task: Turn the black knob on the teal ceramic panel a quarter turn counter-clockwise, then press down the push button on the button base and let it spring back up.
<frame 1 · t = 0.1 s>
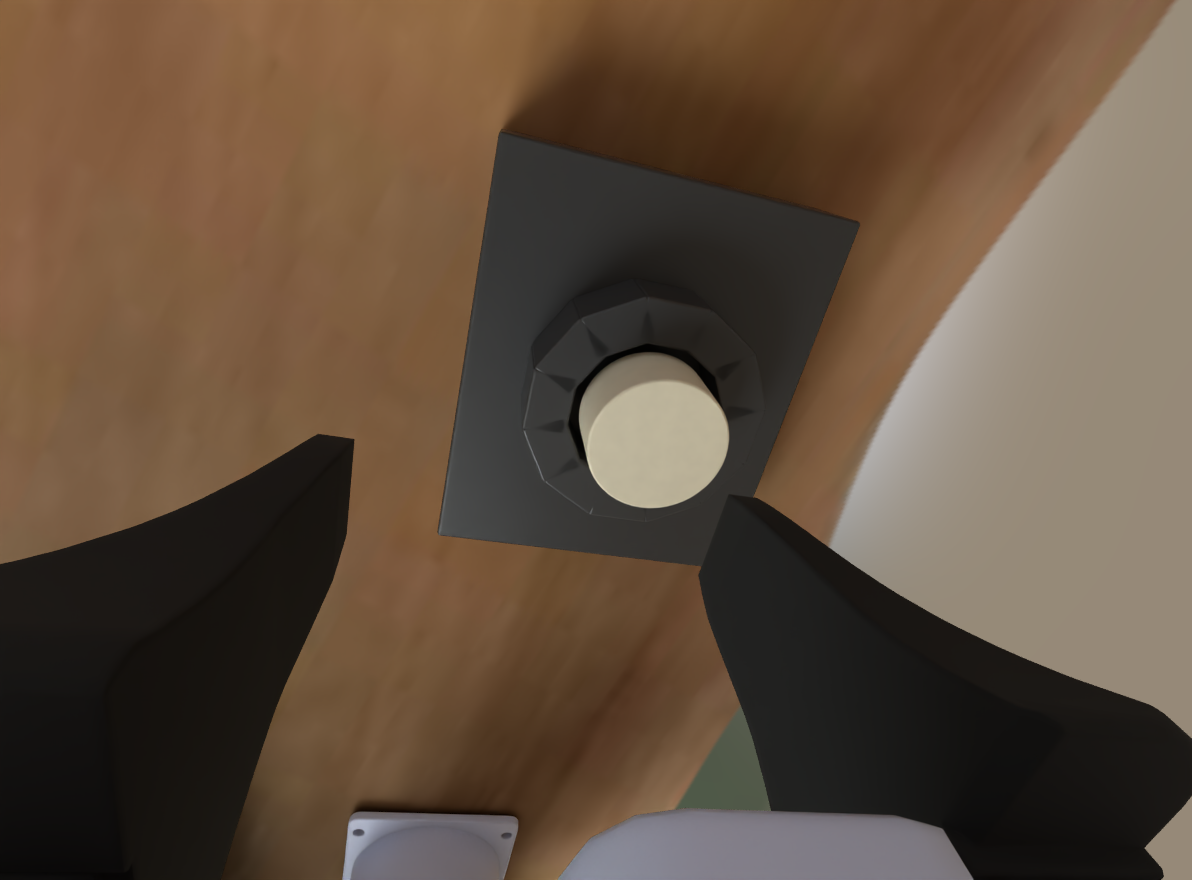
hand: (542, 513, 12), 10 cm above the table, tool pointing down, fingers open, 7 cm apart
button base: (618, 357, 22), on the table
push button: (651, 429, 17), point 6 cm above the table, slide at 0.1 cm
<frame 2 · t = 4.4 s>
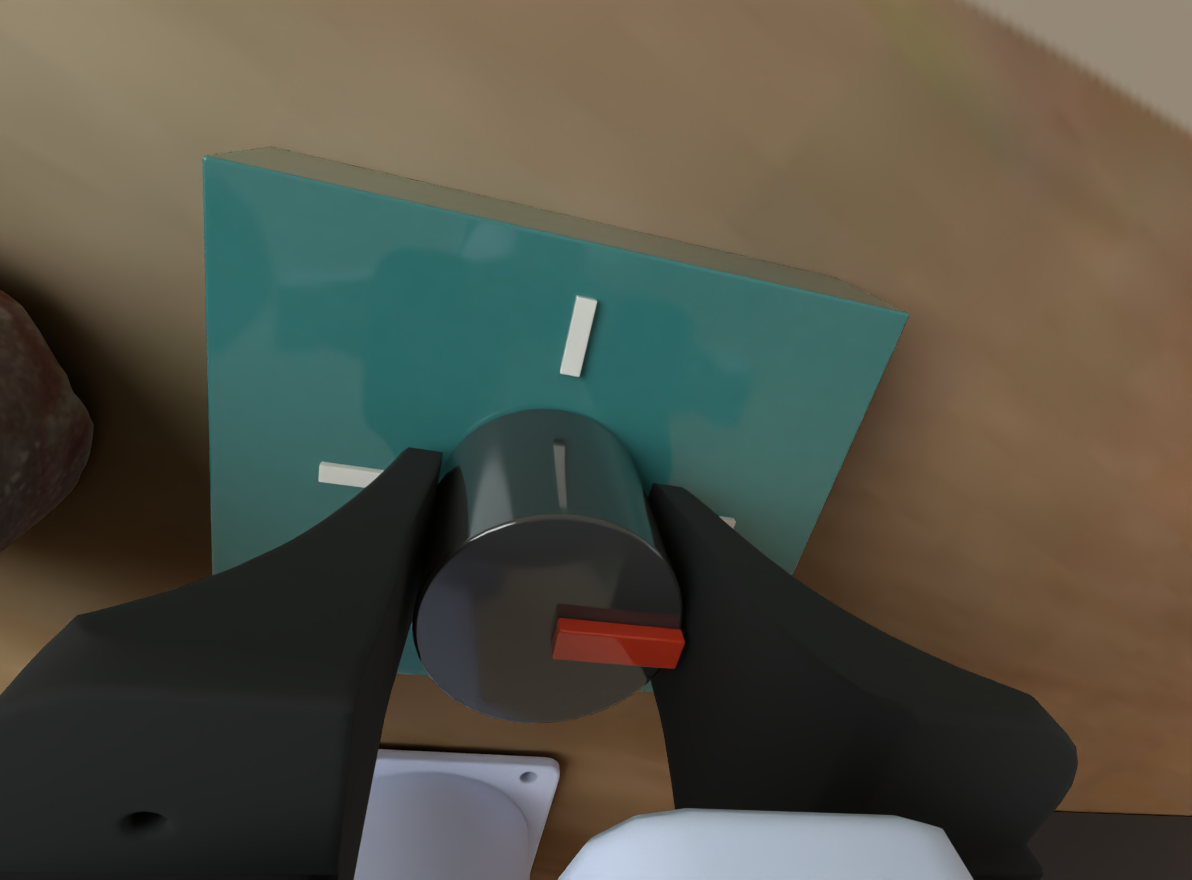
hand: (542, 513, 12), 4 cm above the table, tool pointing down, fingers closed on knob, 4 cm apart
dial panel: (534, 432, 15), on the table
knob: (545, 561, 11), point 5 cm above the table, hinge at 0.0°, touching gripper
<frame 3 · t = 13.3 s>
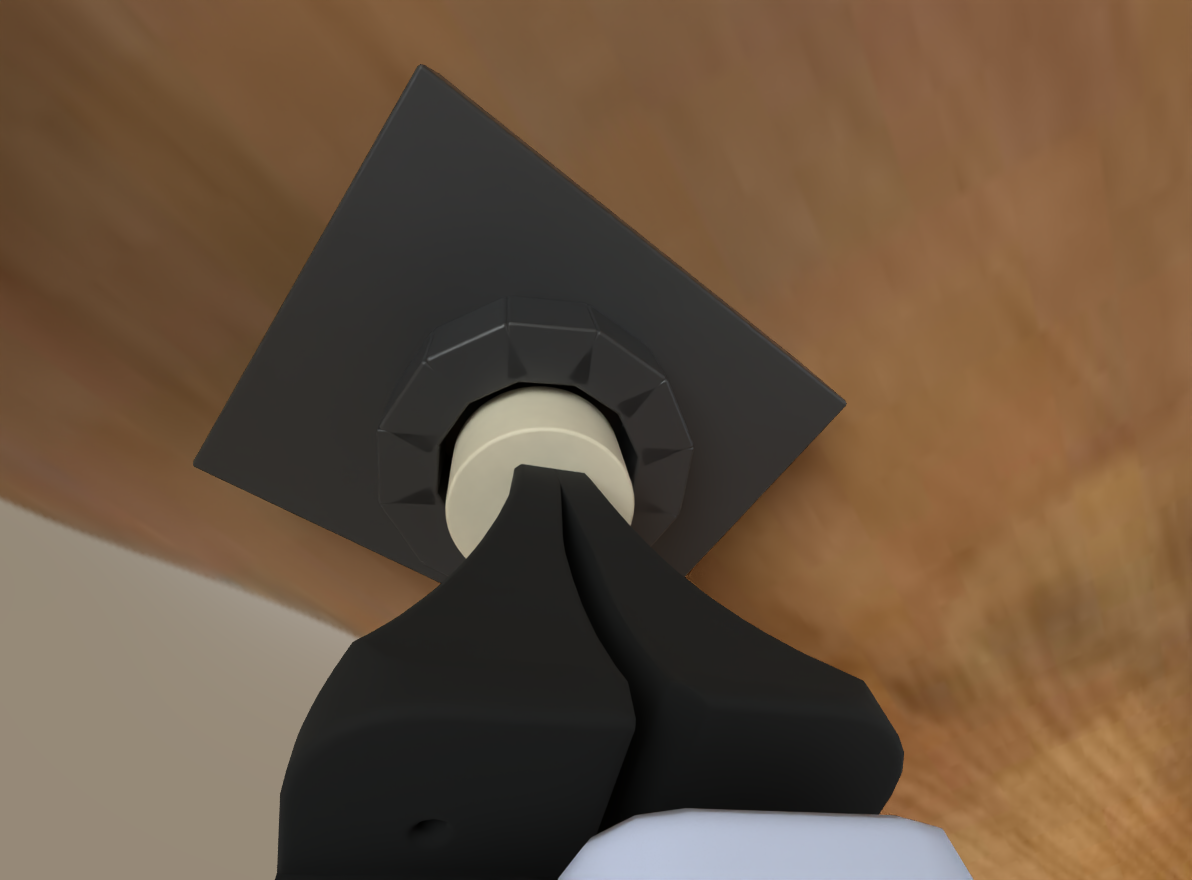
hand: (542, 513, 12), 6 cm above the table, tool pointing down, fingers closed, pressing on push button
button base: (530, 386, 18), on the table
push button: (539, 485, 13), point 5 cm above the table, slide at -0.1 cm, touching gripper
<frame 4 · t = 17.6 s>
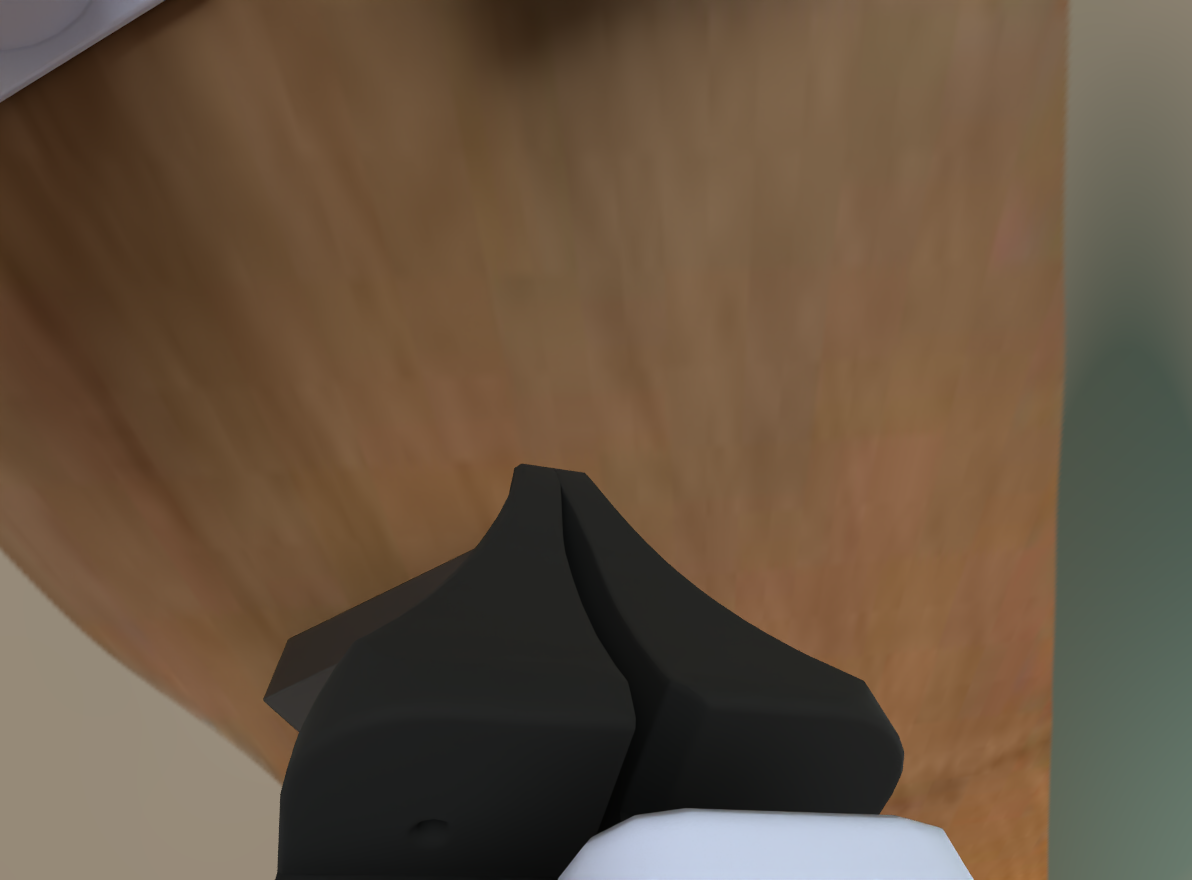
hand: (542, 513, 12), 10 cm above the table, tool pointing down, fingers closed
button base: (478, 680, 27), on the table
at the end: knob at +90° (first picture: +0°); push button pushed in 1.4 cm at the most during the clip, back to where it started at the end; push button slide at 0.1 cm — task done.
